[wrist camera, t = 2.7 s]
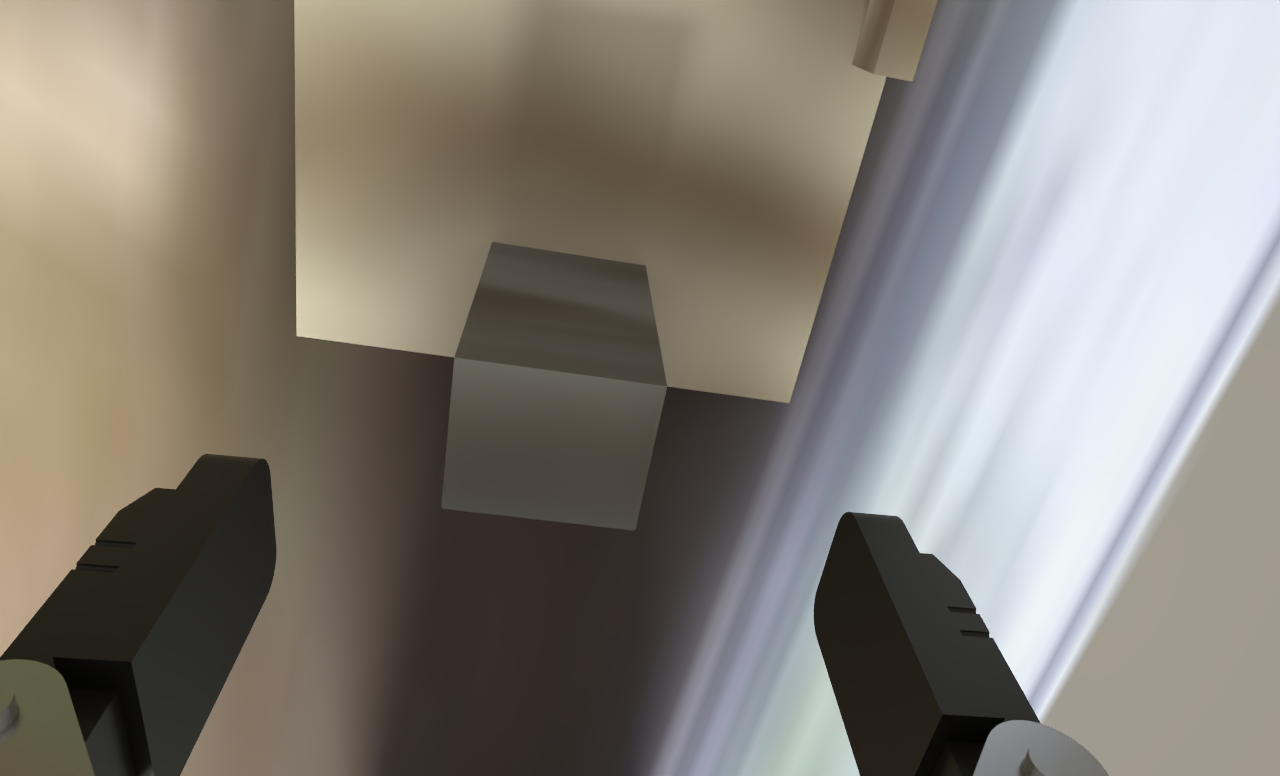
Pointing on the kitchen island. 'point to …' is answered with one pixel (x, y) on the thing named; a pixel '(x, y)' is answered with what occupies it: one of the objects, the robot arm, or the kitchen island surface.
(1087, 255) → the kitchen island surface
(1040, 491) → the kitchen island surface
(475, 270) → the tray
